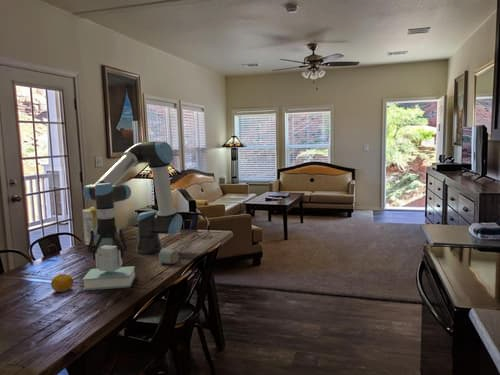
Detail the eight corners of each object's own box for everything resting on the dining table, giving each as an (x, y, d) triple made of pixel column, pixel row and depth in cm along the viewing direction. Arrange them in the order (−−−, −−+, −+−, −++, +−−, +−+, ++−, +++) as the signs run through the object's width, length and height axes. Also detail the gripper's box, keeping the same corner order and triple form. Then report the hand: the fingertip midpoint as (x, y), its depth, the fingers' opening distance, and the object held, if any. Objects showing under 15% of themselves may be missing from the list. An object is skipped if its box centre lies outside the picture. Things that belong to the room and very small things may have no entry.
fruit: (55, 288, 162) (59, 270, 166) (45, 292, 166) (49, 274, 170) (74, 292, 168) (78, 273, 172) (64, 295, 172) (68, 277, 176)
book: (91, 279, 182) (91, 269, 182) (135, 276, 185) (134, 266, 184) (83, 290, 169) (82, 279, 168) (130, 287, 171) (129, 276, 171)
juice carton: (102, 243, 248) (100, 206, 245) (92, 246, 241) (89, 208, 239) (93, 242, 253) (91, 205, 250) (82, 245, 246) (80, 207, 244)
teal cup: (91, 253, 226) (90, 233, 225) (104, 249, 236) (103, 229, 234) (105, 255, 223) (104, 234, 221) (117, 250, 232) (116, 230, 230)
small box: (120, 268, 177) (119, 245, 176) (112, 272, 172) (111, 249, 171) (106, 266, 180) (104, 244, 179) (98, 270, 175) (96, 248, 174)
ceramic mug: (171, 266, 199) (171, 251, 199) (158, 264, 202) (157, 250, 202) (182, 260, 209) (182, 246, 208) (169, 259, 212) (169, 245, 211)
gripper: (77, 220, 168) (81, 270, 171) (129, 217, 171) (133, 266, 174) (82, 217, 176) (86, 265, 178) (132, 214, 178) (135, 261, 181)
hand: (109, 266), depth 176 cm, fingers closed on small box, 9 cm apart
